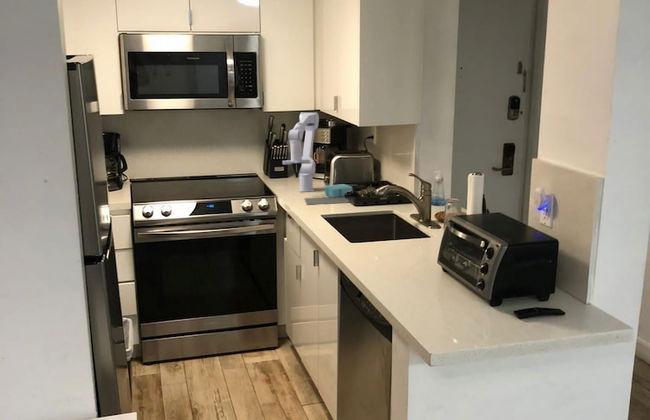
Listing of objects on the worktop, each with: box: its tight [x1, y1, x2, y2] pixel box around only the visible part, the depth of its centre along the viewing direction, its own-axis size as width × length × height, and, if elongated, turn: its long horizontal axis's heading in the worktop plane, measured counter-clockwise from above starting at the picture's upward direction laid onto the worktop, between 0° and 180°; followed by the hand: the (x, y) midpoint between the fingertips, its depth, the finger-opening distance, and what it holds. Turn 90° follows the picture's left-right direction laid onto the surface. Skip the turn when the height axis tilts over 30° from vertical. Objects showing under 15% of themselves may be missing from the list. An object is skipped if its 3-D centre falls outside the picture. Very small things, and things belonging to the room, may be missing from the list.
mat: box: [304, 196, 351, 206], centre depth 347 cm, size 14×22×1 cm, turn 97°
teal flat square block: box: [324, 183, 353, 197], centre depth 360 cm, size 12×4×12 cm
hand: (296, 177), depth 357 cm, fingers closed
